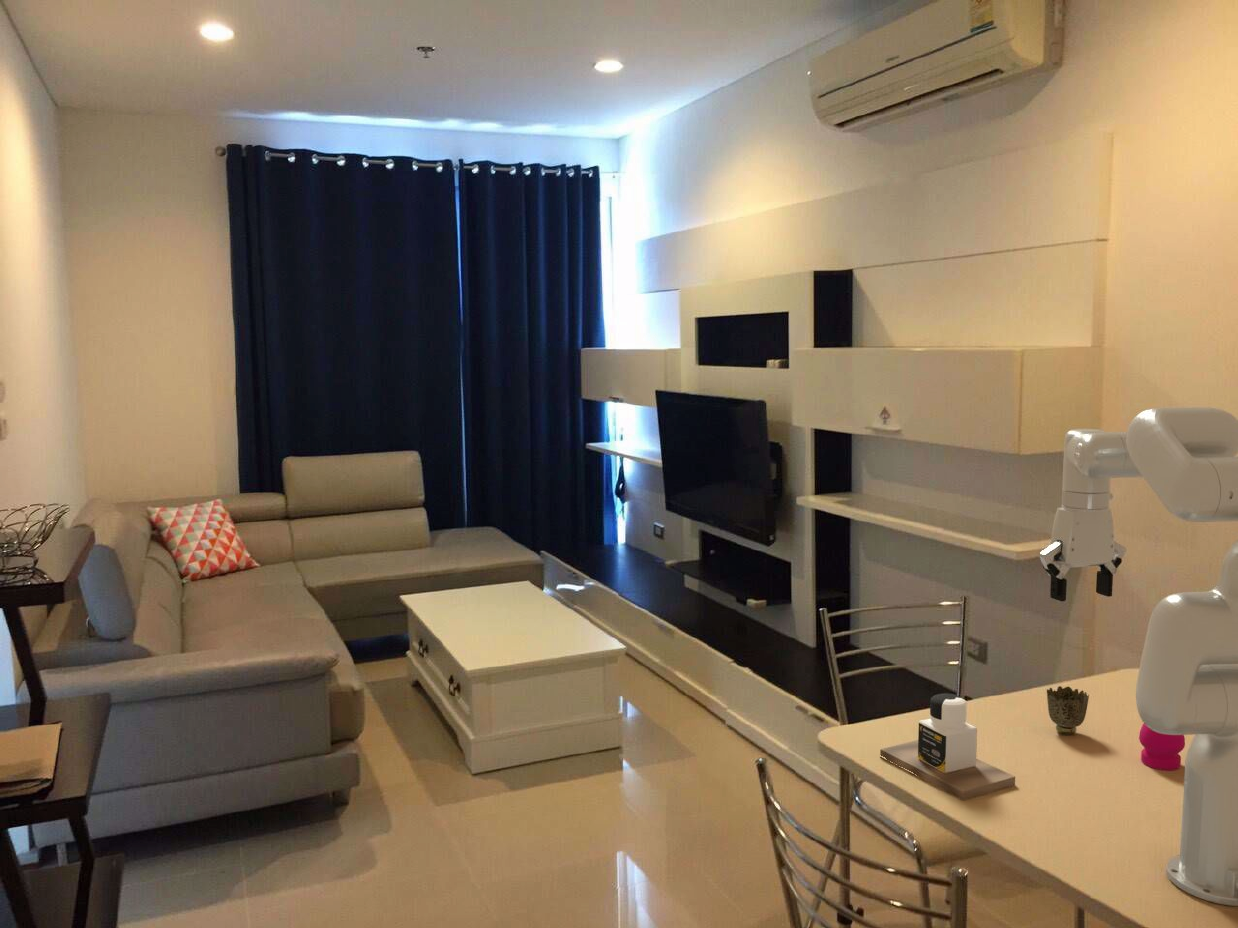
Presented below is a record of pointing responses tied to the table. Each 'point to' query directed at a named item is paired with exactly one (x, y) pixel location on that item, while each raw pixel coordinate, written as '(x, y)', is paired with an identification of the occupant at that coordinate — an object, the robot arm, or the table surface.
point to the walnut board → (950, 773)
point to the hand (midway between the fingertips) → (1081, 597)
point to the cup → (1067, 708)
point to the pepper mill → (1161, 749)
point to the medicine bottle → (947, 735)
